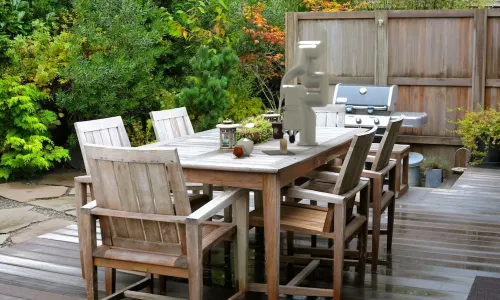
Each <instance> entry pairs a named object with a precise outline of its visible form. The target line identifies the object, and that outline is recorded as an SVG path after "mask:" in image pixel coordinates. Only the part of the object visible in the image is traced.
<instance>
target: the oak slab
mask: <svg viewBox="0 0 500 300" xmlns="http://www.w3.org/2000/svg"><path fill="white" fill-rule="evenodd" d="M279 150H280V152H281V153H287V150H288V140H287V139H285V138H283V139H279Z"/></svg>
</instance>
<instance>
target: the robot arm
mask: <svg viewBox="0 0 500 300" xmlns="http://www.w3.org/2000/svg"><path fill="white" fill-rule="evenodd" d="M326 51H327V45H326V43H325V41H324V40H300V41H298V42H296V43H295V50H294V55H293V61H292V67H291V68H290V69H289V70H287V72H286V73H285V74H284V75H283V77H282V79H281V81H280V82H281V83H280V87H279V88H280V89H279V94H280V96H281V98H282V99H284V106H282V110H284V111H283V115H282V121H281V122H282V128H283V130H282V132H284V133H285V134H287V135H288V142H289V143H290V144H295V142H296V136H297V134H299V135H298V136H299V140H298V141H297V142H296V145H297V146H304V147H311V146H312V147H313V146H314V147H315V146H318V145H319V142H317V139H316V138H317V137H316V135H317V133H316V132H317V130H316V129H317V122H316V119H317V116H316V113H315V110H314V109H313V108H325V107H327V106H328V104H329V91H330V90H329V88H330V87H329V85H330V84H329V82H330V81H329V80H330V79H329V78H330V77H329V75H328V73H327V72H325V71H317V63H316V61H318V60H320V59H321V58H322V57H324V55H325V54H326ZM298 77H300V84H289V83H290V82H291V81H292V80H294V79H296V78H297V79H298ZM307 89H319V90H307Z"/></svg>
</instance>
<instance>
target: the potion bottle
mask: <svg viewBox="0 0 500 300" xmlns="http://www.w3.org/2000/svg"><path fill="white" fill-rule="evenodd" d="M234 145H235V146H234V147H233V148H234V149H233V151H232V155H234V156H235V157H236V158H237V159H240V158H242V157H248V156H250V155H251V154H253V151H254V148H255V147H254V143H253V141H252V140H251V139H249V138H247V137H242V138H240V139H239V140H237V142H236V144H234Z"/></svg>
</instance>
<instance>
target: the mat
mask: <svg viewBox="0 0 500 300" xmlns="http://www.w3.org/2000/svg"><path fill="white" fill-rule="evenodd" d="M261 152H262V153H264V154H265V155H268V156H285V155H286V156H288V155H289V156H291V155H296V153H295V152H293V151H290V150H288V149H287V153H281V152H280V149H267V150H264V149H263V150H261Z"/></svg>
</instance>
